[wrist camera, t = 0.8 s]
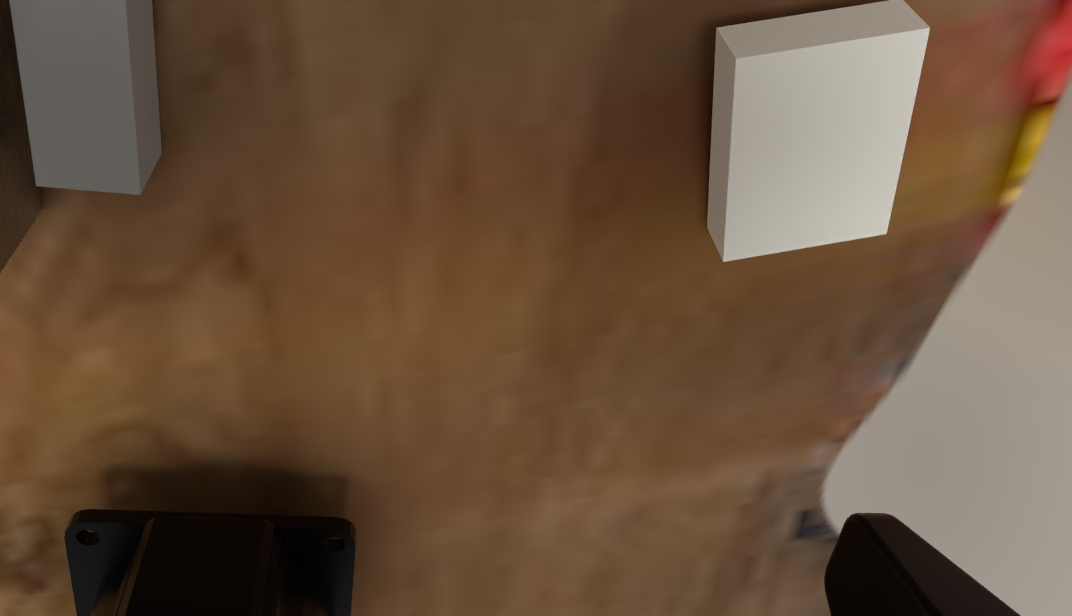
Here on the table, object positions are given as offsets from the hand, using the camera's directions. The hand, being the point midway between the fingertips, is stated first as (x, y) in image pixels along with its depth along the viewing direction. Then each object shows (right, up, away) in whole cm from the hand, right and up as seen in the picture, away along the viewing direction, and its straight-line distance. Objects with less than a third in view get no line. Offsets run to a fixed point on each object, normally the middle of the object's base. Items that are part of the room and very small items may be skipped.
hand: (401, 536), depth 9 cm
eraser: (+4, +8, +10) cm, 13 cm away
